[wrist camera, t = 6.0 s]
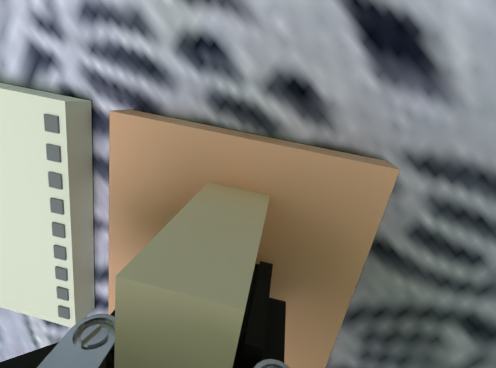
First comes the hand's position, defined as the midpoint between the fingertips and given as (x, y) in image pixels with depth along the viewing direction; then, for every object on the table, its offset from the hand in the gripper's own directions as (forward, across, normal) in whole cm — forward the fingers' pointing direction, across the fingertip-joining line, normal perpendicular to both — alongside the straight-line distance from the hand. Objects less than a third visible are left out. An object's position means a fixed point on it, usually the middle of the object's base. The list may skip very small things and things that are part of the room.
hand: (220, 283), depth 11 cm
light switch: (+2, 0, 0) cm, 2 cm away
